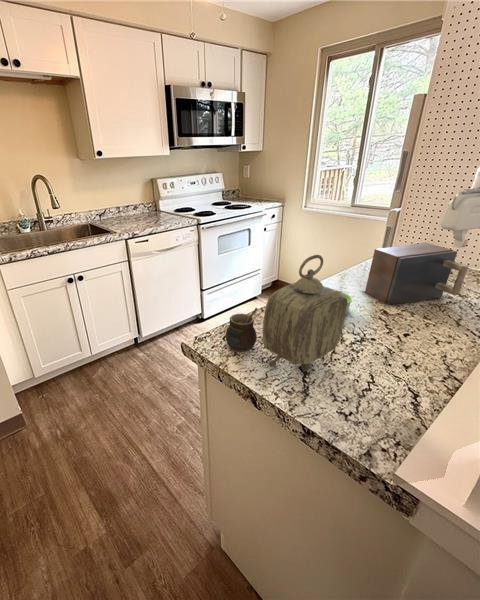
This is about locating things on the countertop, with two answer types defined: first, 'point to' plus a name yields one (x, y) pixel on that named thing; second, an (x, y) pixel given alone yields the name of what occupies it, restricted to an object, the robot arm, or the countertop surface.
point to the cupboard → (393, 266)
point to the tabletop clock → (304, 319)
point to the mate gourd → (241, 332)
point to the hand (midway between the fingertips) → (476, 244)
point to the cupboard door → (425, 277)
